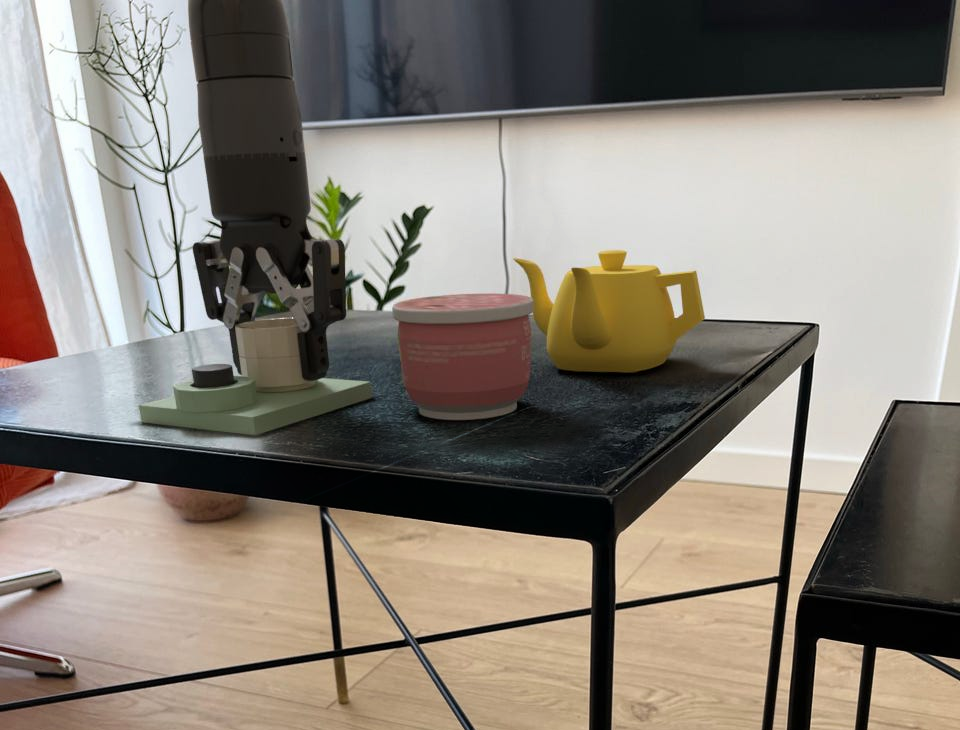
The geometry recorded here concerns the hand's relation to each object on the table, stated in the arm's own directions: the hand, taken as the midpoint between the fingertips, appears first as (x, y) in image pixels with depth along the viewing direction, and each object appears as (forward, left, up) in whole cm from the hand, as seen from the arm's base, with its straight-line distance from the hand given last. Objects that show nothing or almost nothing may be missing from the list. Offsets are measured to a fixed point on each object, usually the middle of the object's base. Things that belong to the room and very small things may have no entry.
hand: (282, 375), depth 83 cm
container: (+3, -16, -2) cm, 16 cm away
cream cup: (0, 0, -1) cm, 1 cm away
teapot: (+23, -18, -2) cm, 29 cm away
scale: (-3, 0, -2) cm, 4 cm away
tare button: (-7, 0, 0) cm, 8 cm away
